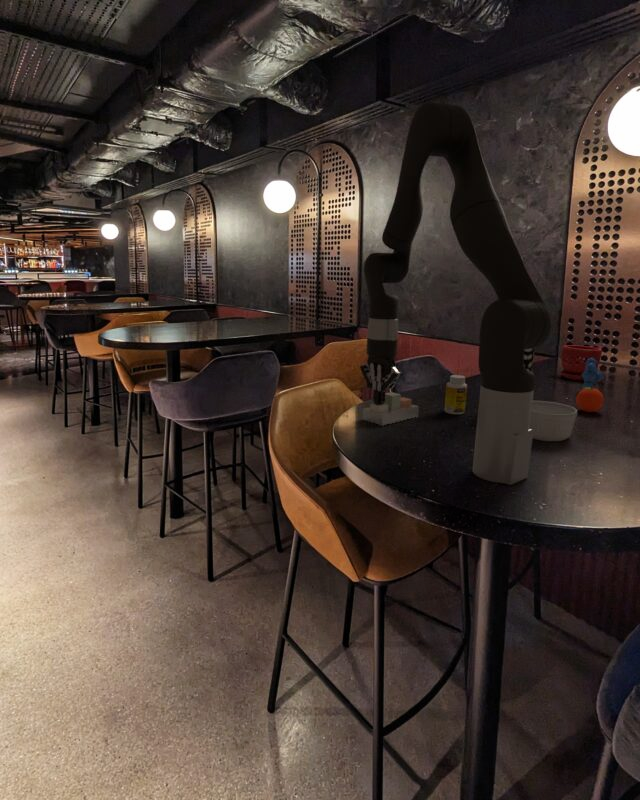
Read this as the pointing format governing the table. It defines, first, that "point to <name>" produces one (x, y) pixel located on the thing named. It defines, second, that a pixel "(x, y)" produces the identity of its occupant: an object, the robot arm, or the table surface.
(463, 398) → the supplement bottle
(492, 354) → the robot arm
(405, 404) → the key terracotta
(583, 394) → the clementine
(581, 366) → the plant pot
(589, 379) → the grapes
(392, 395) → the key sage
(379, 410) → the key ivory
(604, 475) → the table surface
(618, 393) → the table surface
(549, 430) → the ramekin
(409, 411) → the keypad frame
